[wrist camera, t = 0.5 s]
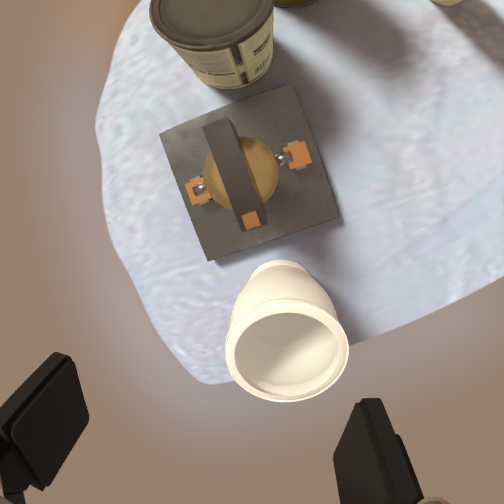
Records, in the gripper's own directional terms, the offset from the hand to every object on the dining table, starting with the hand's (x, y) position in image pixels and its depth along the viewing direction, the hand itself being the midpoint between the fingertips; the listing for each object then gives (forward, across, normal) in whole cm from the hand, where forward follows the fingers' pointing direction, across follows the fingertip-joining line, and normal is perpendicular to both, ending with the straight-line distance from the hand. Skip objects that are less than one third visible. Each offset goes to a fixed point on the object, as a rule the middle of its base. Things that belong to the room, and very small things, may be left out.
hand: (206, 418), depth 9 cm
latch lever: (+20, +1, -7) cm, 21 cm away
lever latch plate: (+30, +1, -7) cm, 30 cm away
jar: (+30, -4, +7) cm, 31 cm away
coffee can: (+30, +5, -22) cm, 37 cm away
